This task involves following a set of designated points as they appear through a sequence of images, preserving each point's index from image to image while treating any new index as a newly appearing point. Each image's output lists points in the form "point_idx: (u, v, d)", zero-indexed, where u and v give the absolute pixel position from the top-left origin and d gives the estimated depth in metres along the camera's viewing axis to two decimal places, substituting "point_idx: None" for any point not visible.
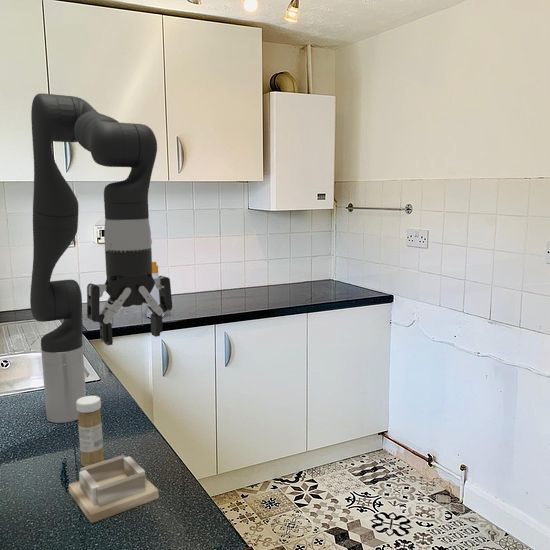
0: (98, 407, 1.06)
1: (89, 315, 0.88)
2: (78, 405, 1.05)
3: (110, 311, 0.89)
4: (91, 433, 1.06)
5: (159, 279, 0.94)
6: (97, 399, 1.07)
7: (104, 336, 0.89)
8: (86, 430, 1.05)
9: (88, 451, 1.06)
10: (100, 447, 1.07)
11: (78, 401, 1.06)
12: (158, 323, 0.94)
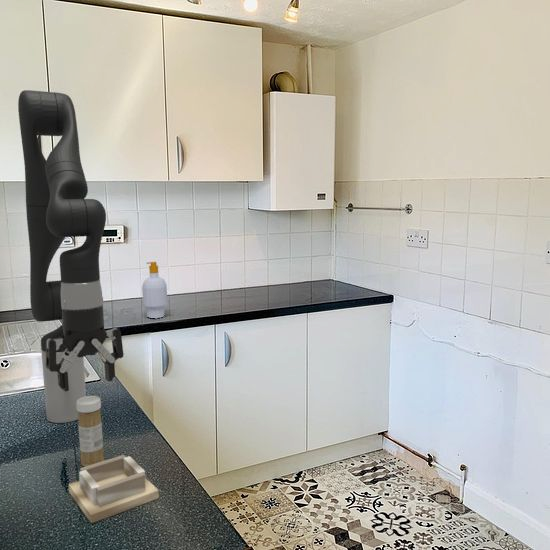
0: (98, 407, 1.06)
1: (47, 365, 1.01)
2: (78, 405, 1.05)
3: (66, 362, 1.02)
4: (91, 433, 1.06)
5: (111, 331, 1.07)
6: (97, 399, 1.07)
7: (61, 383, 1.02)
8: (86, 430, 1.05)
9: (88, 451, 1.06)
10: (100, 447, 1.07)
11: (78, 401, 1.06)
12: (110, 370, 1.08)
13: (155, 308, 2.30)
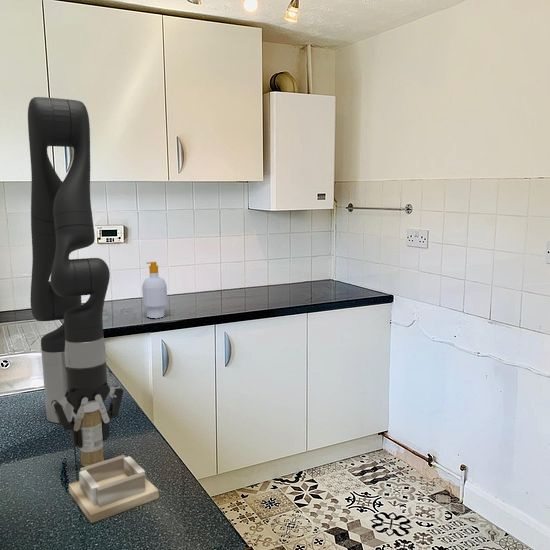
0: (98, 407, 1.06)
1: (61, 425, 1.04)
2: None
3: (77, 420, 1.05)
4: (91, 433, 1.06)
5: (114, 389, 1.09)
6: None
7: (75, 441, 1.05)
8: (86, 430, 1.05)
9: (88, 451, 1.06)
10: (100, 447, 1.07)
11: None
12: (105, 430, 1.08)
13: (155, 308, 2.30)
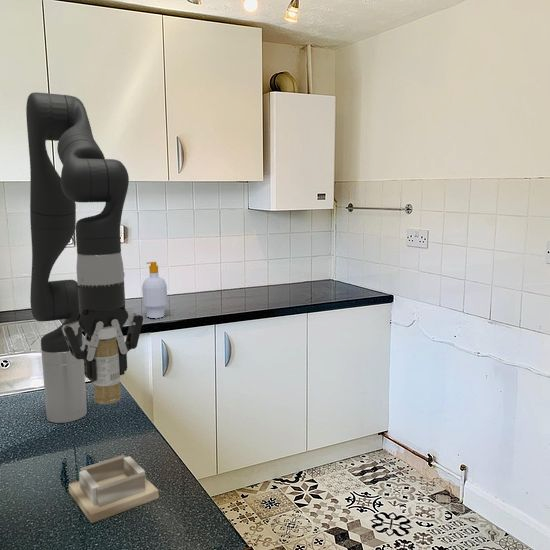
0: (115, 334, 0.92)
1: (73, 354, 0.90)
2: None
3: (90, 348, 0.90)
4: (107, 363, 0.91)
5: (133, 315, 0.95)
6: None
7: (88, 373, 0.91)
8: (101, 360, 0.91)
9: (103, 385, 0.92)
10: (117, 381, 0.93)
11: None
12: (122, 362, 0.94)
13: (155, 308, 2.30)
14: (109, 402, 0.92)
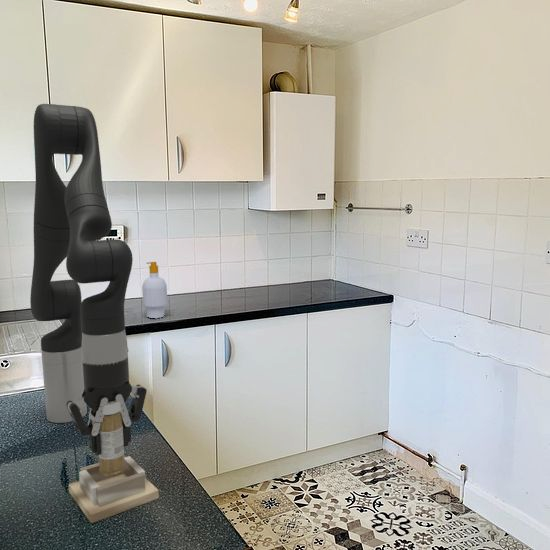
0: (119, 409, 0.94)
1: (78, 429, 0.92)
2: None
3: (95, 423, 0.92)
4: (111, 438, 0.93)
5: (136, 388, 0.97)
6: None
7: (93, 447, 0.93)
8: (105, 434, 0.93)
9: (107, 459, 0.94)
10: (121, 454, 0.95)
11: None
12: (126, 434, 0.96)
13: (155, 308, 2.30)
14: (113, 475, 0.94)
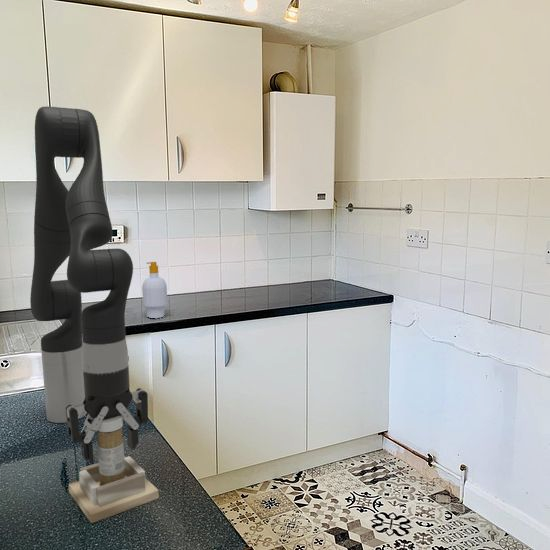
0: (120, 425, 0.94)
1: (70, 436, 0.91)
2: None
3: (90, 431, 0.92)
4: (112, 454, 0.94)
5: (137, 393, 0.97)
6: (118, 416, 0.94)
7: (85, 454, 0.92)
8: (106, 451, 0.93)
9: (108, 475, 0.94)
10: (122, 470, 0.96)
11: None
12: (134, 437, 0.97)
13: (155, 308, 2.30)
14: None
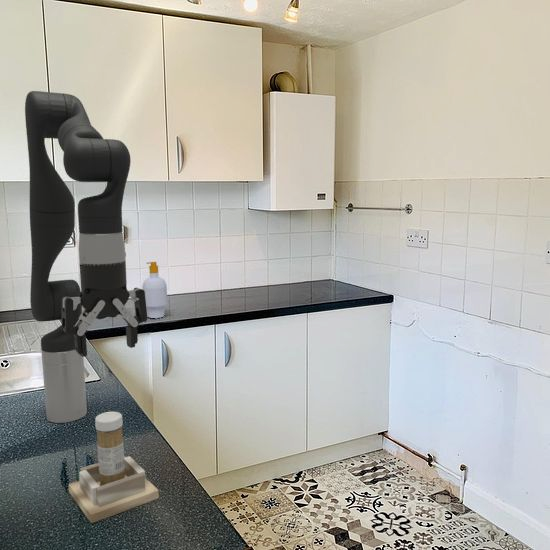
0: (120, 425, 0.94)
1: (63, 327, 0.90)
2: (97, 423, 0.93)
3: (84, 323, 0.90)
4: (112, 454, 0.94)
5: (134, 291, 0.96)
6: (118, 416, 0.95)
7: (78, 348, 0.91)
8: (106, 451, 0.94)
9: (108, 475, 0.94)
10: (122, 469, 0.96)
11: (97, 418, 0.94)
12: (133, 334, 0.96)
13: (155, 308, 2.30)
14: None
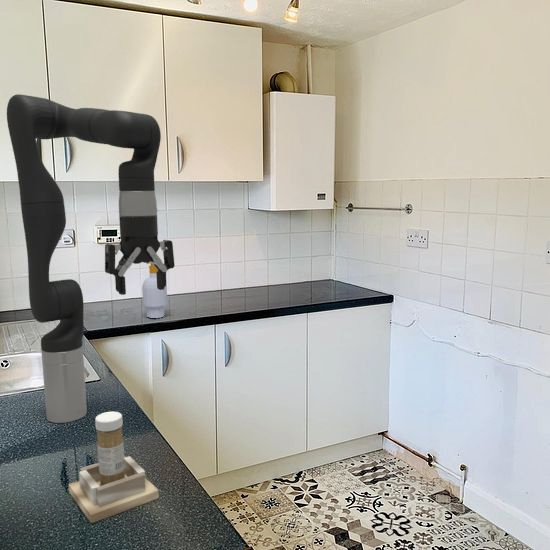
0: (120, 425, 0.94)
1: (107, 269, 1.08)
2: (98, 423, 0.93)
3: (124, 266, 1.09)
4: (112, 454, 0.94)
5: (163, 242, 1.14)
6: (118, 416, 0.95)
7: (119, 287, 1.09)
8: (106, 451, 0.94)
9: (108, 475, 0.94)
10: (122, 469, 0.96)
11: (97, 418, 0.94)
12: (163, 278, 1.14)
13: (155, 308, 2.30)
14: None
